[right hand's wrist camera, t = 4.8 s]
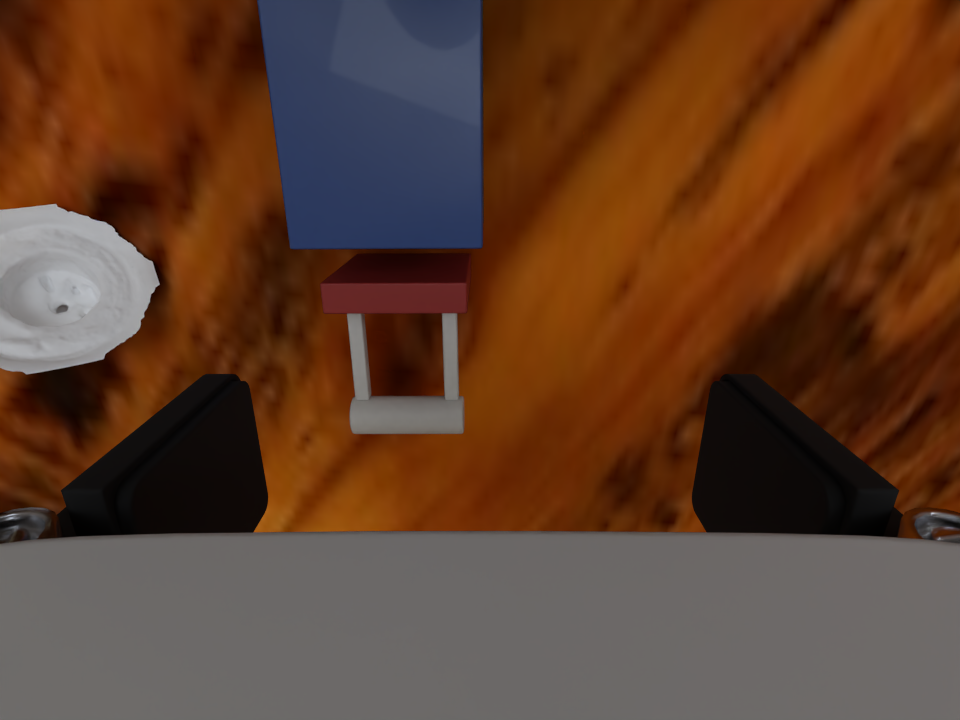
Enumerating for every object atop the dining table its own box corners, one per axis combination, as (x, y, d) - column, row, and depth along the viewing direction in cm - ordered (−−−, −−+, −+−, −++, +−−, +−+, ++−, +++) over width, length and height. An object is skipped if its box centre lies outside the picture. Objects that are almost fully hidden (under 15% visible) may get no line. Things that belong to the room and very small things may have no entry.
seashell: (108, 264, 30) (-96, 259, 24) (133, 204, 27) (-95, 180, 21) (149, 388, 29) (-61, 417, 22) (181, 339, 25) (-54, 355, 19)
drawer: (472, 390, 28) (469, 452, 22) (368, 391, 28) (339, 452, 22) (465, -157, 20) (458, -281, 14) (320, -155, 20) (254, -278, 14)
